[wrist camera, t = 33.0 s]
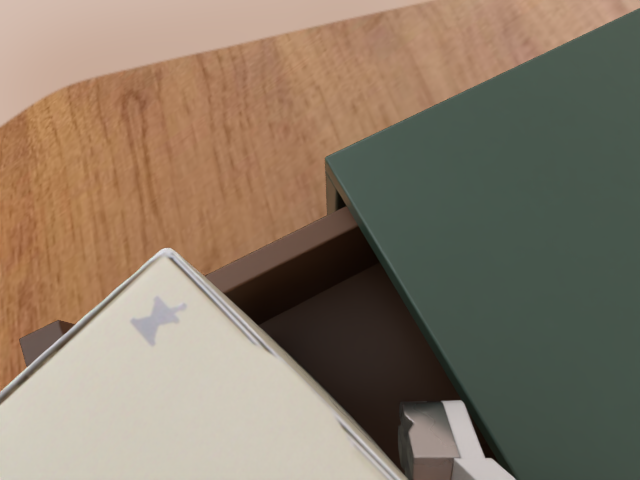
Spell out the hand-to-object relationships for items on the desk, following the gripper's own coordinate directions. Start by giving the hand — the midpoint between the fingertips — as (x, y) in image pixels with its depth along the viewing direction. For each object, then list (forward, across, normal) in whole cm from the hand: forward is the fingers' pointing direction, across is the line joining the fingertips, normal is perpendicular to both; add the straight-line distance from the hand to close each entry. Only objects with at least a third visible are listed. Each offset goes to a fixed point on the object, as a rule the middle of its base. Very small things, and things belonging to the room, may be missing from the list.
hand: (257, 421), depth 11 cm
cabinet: (+10, -11, +3) cm, 15 cm away
